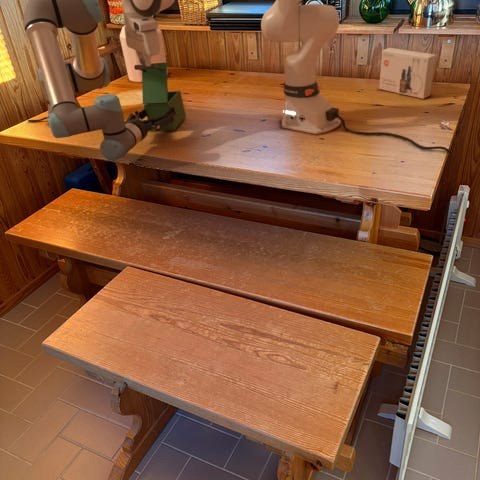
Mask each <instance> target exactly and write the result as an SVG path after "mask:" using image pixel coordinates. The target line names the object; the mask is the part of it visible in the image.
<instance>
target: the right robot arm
mask: <svg viewBox="0 0 480 480" xmlns="http://www.w3.org/2000/svg"><path fill="white" fill-rule="evenodd" d="M302 1H303V0H275V1H274V3H273V4H272V5H271V6H270V7H269V8H268V9H267V10H266V11H265V12H264V14H263V16H262V18H261V22H260V30H261V33H262V35H263V37H264V38H265V39H266V40H267V41H269V42H276V43H294V42H295V43H297V42H300V43H301V44H302V45H301V46H300V47H299V49H297V50H295V51H293V52H292V53H290V54H288V56H287V57H286V58H285V60H284V62H283V67H284V68H283V70H284V82H283V89H282V90H283V94H284V103H283V110H282V116H281V120H280V121H281V128H282V129H288V130H292V131H298V132H303V133H309V134H313V135H314V134H315V135H319V134H324V133H328V132H331V131H332V130H335V129H337V128H338V127H339V126H340V125H341V124H342V127H343V130H344V131H345V132H348V133H352V134H354V135H356V134H357V135H358V134H359V135H383V136H384V135H385V136H392V137H396V138H399V139H402V140H405V141H408V142H410V143H411V144H413V145H414V146H416V147H417V148H420V149H423V150H443V151H446V152H447V153H448V154H452V151H451V150H450V149H448V147H444V146H441V145H440V146H439V145H438V146H424V145H420V144H418V143H417V142H416V141H414V140H412V139H411V138H409V137H406V136H404V135H400V134H397V133H392V132H384V131H383V132H381V131H376V132H375V131H374V132H371V131H370V132H369V131H353V130H349V129H348V128H347V127H346V122H345V120H344V118H342V116H340V115H339V111H340V110H339V109H340V108H338V107H334V106H333V105H332V104H331V103H330V102H329V101H328V100H327V99H326V98H325V97H324V96H323V95H322V94H321V93H320V90H321V89H322V86H323V85H322V84H320V85H319V84H318V81H317V64H318V58H319V55H320V53H321V50H322V49H323V47H324V46H325V44H326V43H327V42H328V41H329V40H330V39H331V38H333V37H334V35H336V33H337V31H338V29H339V26H340V16H339V12H338V10H337V9H336V8H335V6H334V5H329V4H323V3H312V4H301V5H299V4H300V3H301V2H302ZM120 2H121V4H122V15H123V21H124V25H125V37H126V43H127V46H128V47H129V48H131V49H134V50H136V54H137V56H138V58H139V62H140V64H145V66H147V67H148V66H151V61H150V60H151V56H153V55H158V54H159V52H160V44H159V36H158V32H157V30H156V29H158V28H159V24H158V21H157V20H156V19H155V18H154V17H153V16H155V15H156V14H158V13H160V12H162V11H164V10H167V9H168V8H170V7H171V6H172V5H174V3H175V2H176V0H120ZM143 53H144V55H143ZM144 56H145V58H144ZM450 205H451V200H448V201H447V204H446V208H445V212H444V218H443V222H442V226H441V230H440V235H439V240H438V244H437V250H436V252H437V253H439V252H440V250H441V246H442V245H441V244H442V240H443V235H444V231H445V227H446V222H447V218H448V213H449V209H450Z"/></svg>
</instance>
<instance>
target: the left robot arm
mask: <svg viewBox="0 0 480 480" xmlns="http://www.w3.org/2000/svg"><path fill="white" fill-rule="evenodd" d="M104 20H105V19H104V16H103V12H102V9H101V7H100V2H99V0H27V3H26V5H25V8H24V11H23V28H24V32H25V35H26V37H27V39H29V40H30V41H31V44H32V47H33V50H34V54H35V57H36V61H37V63H38V67H39V68H38V70H37V74H38V78H39V83H40V84H41V88H42V90H43V94H44V97H45V99H46V103H47V115H46V116H45V117H42V118H40V119H28V120H27V122H28V123H34V122H35V123H38V122H41V121H45V120H47V123H48V125H49V129H50V131H51V134H52V137H54V138H56V139H63V138H71V137H72V136H73V137H74V136H77V135H81V134H85V133H91V132H96V131H101V132H102V136H103V140H102V141H101V142H100V144H99V151H100V153H101V155H102V156H103V157H104V158H105V159H106V160H108V161H112V162H116V161H118V160H120V159H121V158H124V157H125V156H126V155H127V154H128V153H129V152H130V151H131V150H133V148H135V147H136V146H137V145H138V144H139V143H141V142H142V141H143V140H145V138H147V136H148V133H149V132H151V130H152V129H156V131H155V132H160V131H159V130H160V129H161V128H163V127H165V126H167V125H169V124H171V123H173V122H174V118H173V117H174V115H175V114H176V113H175V107H172V108H171V109H170V110H169V111H167V112H166V113H165V115H163V116H160V117H157V118H155V119H152V118H150V119H145V118H147V115H146V111H145V108H144V107H143V109H142V110H140V111H138V110H135V111H134V113H130V114H129V115H128V117H127V118H126V119H125V116H124V112H123V107H122V105H121V100H120V98H119V97H118V95H116V94H113V93H106V94H101V95H99V96H96V97H95V98H94V100H93V101H94V104H92V105H87V106H82V105H81V104H80V102H79V101H78V99H77V96H76V94H78V93H83V92H88V91H95V90H101V89H103V88H107V87H108V86H109V85H110V82H111V76H110V70H109V66H108V62H107V61H106V59H105V58H104V57H101V56H100V55H99V47H98V40H97V33H96V31H97V29H98V27H99V24H101V23H103V22H104ZM64 28H65V29H66V30H67V31H68V32H69V33H70V38H71V42H72V47H73V51H74V56H75V57H74V59H73V62H67V61H66V60H65V59H64V57H63V53H62V51H61V47H60V44H59V40H58V35H59V29H64ZM150 121H151V123H150Z"/></svg>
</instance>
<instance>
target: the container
mask: <svg viewBox="0 0 480 480" xmlns="http://www.w3.org/2000/svg"><path fill="white" fill-rule="evenodd" d="M156 30H157V32H158V36H159V44H160V52H159V54H158V55H153V56H151V60H150V61H151V64H153V63H167V57H166V51H165V45H164V39H163V32H162V30H161V29H160V27H158V29H156ZM119 41H120V45H121V49H122V54H123V59H124V63H125V68H126V72H127V77H128V80H129V81H130V82H134V83H142V71H140V70H135V68H134V66H135V65H142V64H140V62H139V58H138V56H137V54H136V50H134V49H131V48H129V47H128V46H127V43H126V37H125V24H124V25H123V26H122V28H121V31H120V33H119ZM143 55H144V53H143ZM144 58H145V56H144ZM168 75H169V68H167V76H168Z"/></svg>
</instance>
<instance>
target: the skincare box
mask: <svg viewBox="0 0 480 480" xmlns="http://www.w3.org/2000/svg"><path fill="white" fill-rule="evenodd" d="M436 57H437V54H435V53H427V52H423V51H422V52H420V51H413V50H407V49H400V48H395V47H394V48H393V47H387V48H385V49H382V50H381V61H380V74H379V86H378V87H379V88H378V89H379V90H383V91H387V92H391V93H395V94H399V95H405V96H409V97H414V98H418V99H422V100H424V99H426V98H428V97H430V96H431V91H432V86H433V85H432V84H433V78H434V73H435V72H434V71H435V70H434V69H435V64H436Z"/></svg>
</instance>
